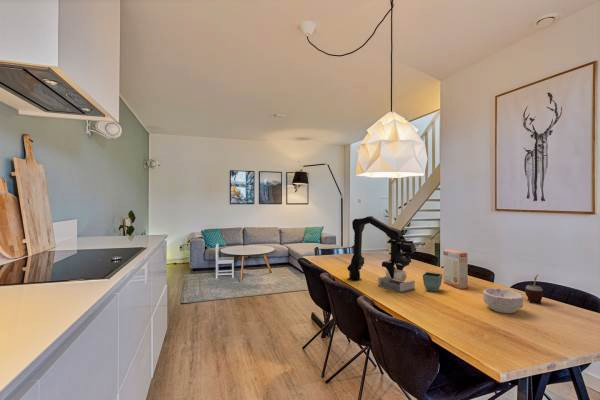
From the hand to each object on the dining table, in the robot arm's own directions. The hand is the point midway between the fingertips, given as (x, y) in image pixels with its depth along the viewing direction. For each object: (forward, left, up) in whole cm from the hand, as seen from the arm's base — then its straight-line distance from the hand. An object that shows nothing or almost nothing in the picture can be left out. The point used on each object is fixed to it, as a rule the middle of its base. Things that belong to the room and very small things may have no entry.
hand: (395, 277), depth 173 cm
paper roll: (0, 0, +2) cm, 2 cm away
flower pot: (+15, +13, -6) cm, 21 cm away
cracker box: (+18, +32, -6) cm, 37 cm away
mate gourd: (+56, +35, -6) cm, 66 cm away
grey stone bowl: (+51, +11, -6) cm, 53 cm away
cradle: (0, 0, -6) cm, 6 cm away
